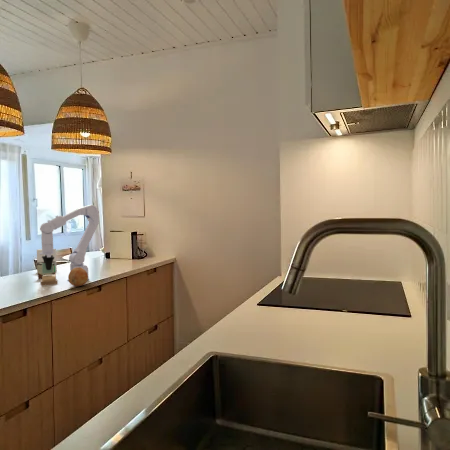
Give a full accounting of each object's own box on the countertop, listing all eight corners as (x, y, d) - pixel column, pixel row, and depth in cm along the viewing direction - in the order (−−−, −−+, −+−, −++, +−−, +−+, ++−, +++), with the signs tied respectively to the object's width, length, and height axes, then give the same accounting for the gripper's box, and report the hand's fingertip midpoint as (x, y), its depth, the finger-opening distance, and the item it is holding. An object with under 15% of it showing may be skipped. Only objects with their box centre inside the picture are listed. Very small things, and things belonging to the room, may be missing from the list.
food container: (61, 277, 235) (60, 260, 234) (55, 279, 229) (55, 262, 228) (41, 277, 236) (41, 261, 236) (35, 279, 230) (35, 262, 230)
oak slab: (55, 280, 213) (55, 276, 213) (42, 281, 211) (42, 277, 211) (55, 278, 219) (55, 274, 219) (43, 279, 217) (42, 275, 217)
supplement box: (57, 271, 262) (56, 248, 261) (44, 272, 255) (43, 250, 254) (50, 270, 267) (49, 248, 267) (37, 271, 260) (36, 249, 260)
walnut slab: (57, 285, 213) (57, 280, 213) (41, 286, 209) (41, 282, 209) (56, 282, 220) (56, 278, 220) (40, 284, 216) (40, 279, 216)
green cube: (53, 272, 214) (52, 263, 213) (42, 273, 211) (42, 264, 211) (52, 271, 218) (51, 262, 218) (42, 272, 215) (41, 263, 215)
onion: (90, 284, 211) (90, 265, 210) (84, 287, 201) (84, 268, 200) (72, 284, 210) (71, 266, 210) (65, 288, 200) (65, 268, 200)
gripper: (38, 244, 219) (39, 268, 219) (40, 245, 206) (41, 271, 206) (52, 243, 222) (53, 267, 222) (54, 245, 209) (55, 270, 210)
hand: (48, 269), depth 215 cm, fingers closed on green cube, 5 cm apart
